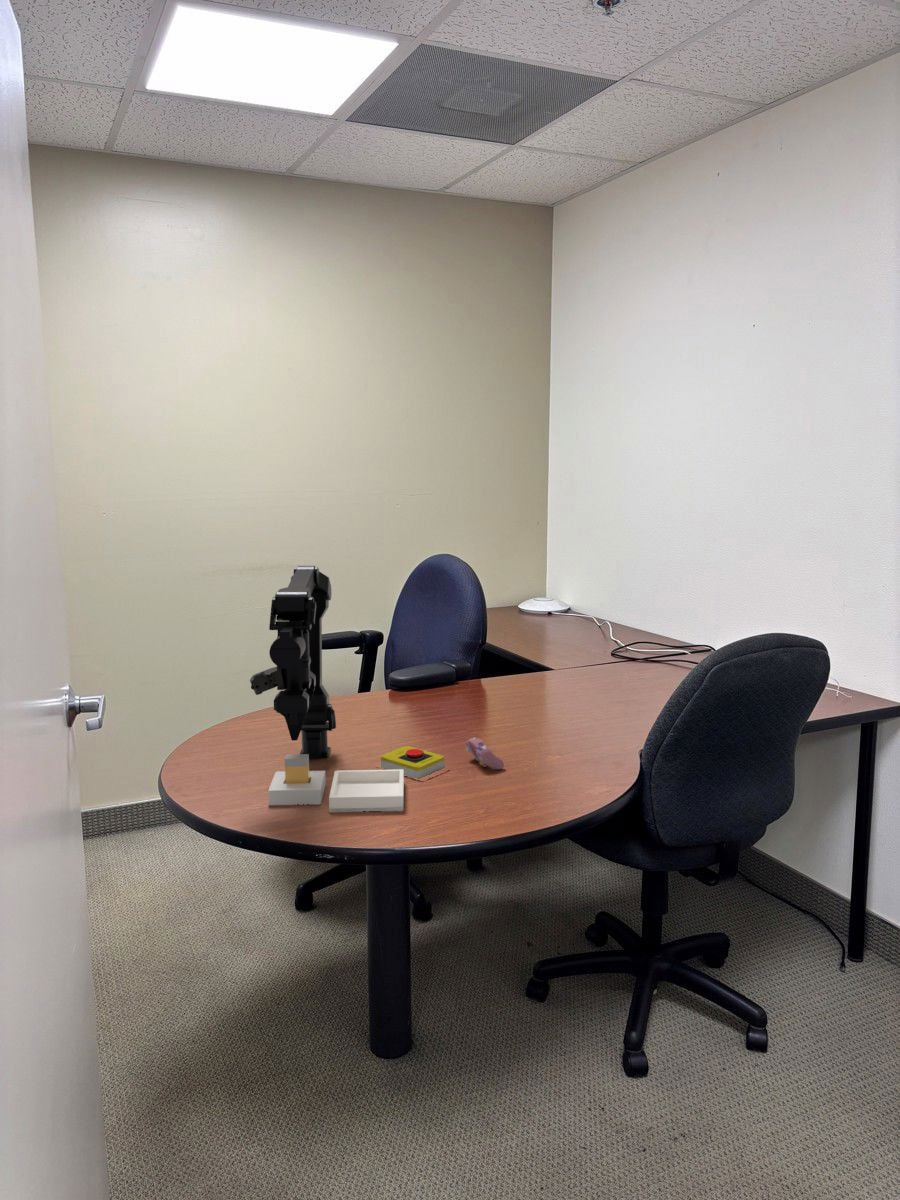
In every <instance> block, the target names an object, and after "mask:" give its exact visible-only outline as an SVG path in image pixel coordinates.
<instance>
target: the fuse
mask: <svg viewBox="0 0 900 1200" xmlns="http://www.w3.org/2000/svg"><path fill="white" fill-rule="evenodd" d="M284 771H285V780H286V784H294V783H310V782H309V771H310V759H309V754H300V753H299V754H285V757H284Z"/></svg>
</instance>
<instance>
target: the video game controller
mask: <svg viewBox="0 0 900 1200" xmlns="http://www.w3.org/2000/svg"><path fill="white" fill-rule="evenodd" d="M465 745H466V747H465V750H466V752H468V753H471V754H472V755H473V757H474V759H475V761H478V764H479V765H480V766H482V767H483V768H484V767H485V768H487V767H489V768H491V769H494V770H497V771H500V770H499V769H501V770H503V769H504V767H505V763H504V761H503V760H502V758H500V757H499V756H497V755H496V754H494V753H493V751H492V750H491V749H490V748H489V747H488V745H487V744H486V742H485V741H484V740H483V739H482V738H477V737H475V736H474V737H473V738H469V739H468V740H466V741H465Z"/></svg>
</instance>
